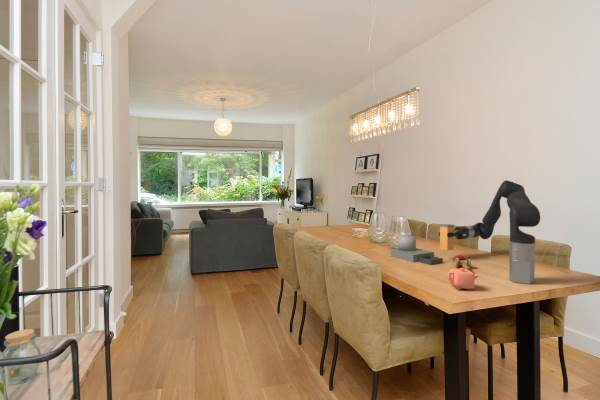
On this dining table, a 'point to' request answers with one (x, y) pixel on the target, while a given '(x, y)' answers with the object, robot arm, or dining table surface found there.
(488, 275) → the dining table surface
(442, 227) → the orange tall block
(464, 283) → the pink cube teapot
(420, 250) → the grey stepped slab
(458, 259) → the red flower
